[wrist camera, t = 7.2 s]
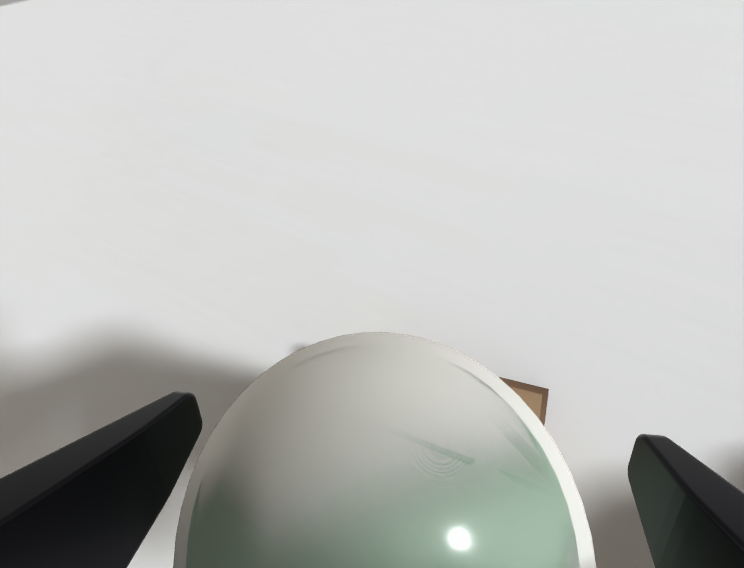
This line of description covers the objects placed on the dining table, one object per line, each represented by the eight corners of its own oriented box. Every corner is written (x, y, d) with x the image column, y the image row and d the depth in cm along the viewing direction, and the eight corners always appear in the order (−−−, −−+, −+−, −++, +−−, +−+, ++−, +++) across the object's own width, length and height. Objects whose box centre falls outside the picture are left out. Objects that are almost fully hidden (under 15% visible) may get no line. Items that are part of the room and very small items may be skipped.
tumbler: (439, 598, 15) (434, 1025, 4) (319, 491, 17) (97, 579, 6) (517, 458, 16) (676, 486, 5) (397, 375, 18) (332, 271, 7)
